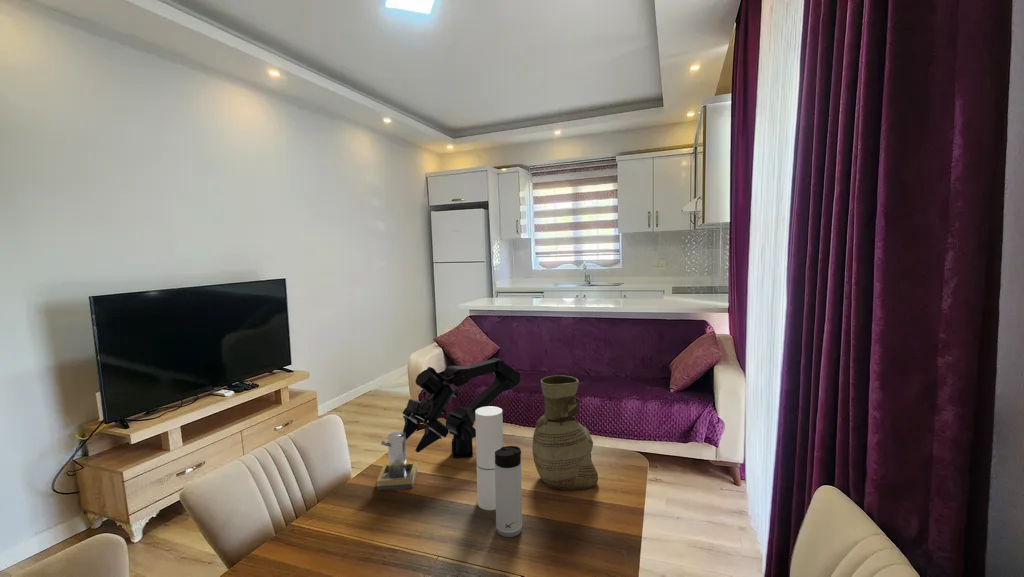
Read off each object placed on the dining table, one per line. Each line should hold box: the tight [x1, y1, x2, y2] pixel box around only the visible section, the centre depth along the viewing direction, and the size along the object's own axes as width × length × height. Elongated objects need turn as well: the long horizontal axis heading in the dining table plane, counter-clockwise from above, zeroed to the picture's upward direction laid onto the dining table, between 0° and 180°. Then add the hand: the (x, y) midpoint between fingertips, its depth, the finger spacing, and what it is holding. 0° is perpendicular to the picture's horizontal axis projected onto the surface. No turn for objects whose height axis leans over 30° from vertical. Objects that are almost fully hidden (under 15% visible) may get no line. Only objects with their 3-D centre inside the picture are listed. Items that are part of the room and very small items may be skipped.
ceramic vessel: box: [531, 374, 599, 491], centre depth 123 cm, size 19×21×30 cm
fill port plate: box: [376, 461, 418, 491], centre depth 124 cm, size 10×10×3 cm
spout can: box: [381, 431, 407, 478], centre depth 123 cm, size 7×5×12 cm
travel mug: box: [495, 445, 523, 538], centre depth 100 cm, size 6×7×20 cm
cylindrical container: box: [475, 405, 504, 511], centre depth 111 cm, size 7×7×25 cm
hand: (408, 446), depth 126 cm, fingers open, 9 cm apart
